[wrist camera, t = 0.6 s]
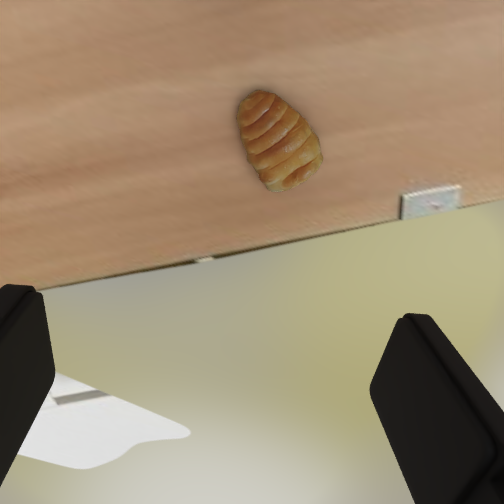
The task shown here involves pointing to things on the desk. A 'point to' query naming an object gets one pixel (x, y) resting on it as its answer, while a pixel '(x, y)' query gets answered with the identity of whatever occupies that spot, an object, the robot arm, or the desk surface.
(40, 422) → the desk surface
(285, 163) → the pastry
